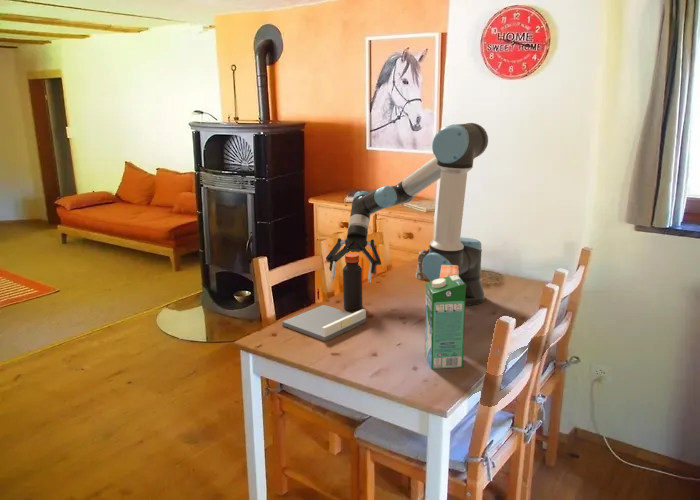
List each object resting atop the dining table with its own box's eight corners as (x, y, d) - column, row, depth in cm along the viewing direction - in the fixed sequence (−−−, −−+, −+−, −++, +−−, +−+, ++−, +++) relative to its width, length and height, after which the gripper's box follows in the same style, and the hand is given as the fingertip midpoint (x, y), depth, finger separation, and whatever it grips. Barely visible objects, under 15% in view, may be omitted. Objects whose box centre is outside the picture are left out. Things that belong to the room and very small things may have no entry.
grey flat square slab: (366, 322, 193) (366, 309, 191) (326, 341, 178) (325, 328, 177) (323, 308, 206) (323, 296, 205) (282, 325, 192) (281, 313, 190)
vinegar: (340, 307, 206) (338, 254, 201) (354, 303, 210) (353, 251, 205) (351, 313, 201) (350, 258, 196) (366, 308, 205) (365, 255, 200)
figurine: (413, 275, 240) (413, 248, 237) (428, 273, 242) (429, 246, 239) (419, 280, 234) (419, 252, 231) (435, 278, 235) (435, 251, 232)
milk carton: (424, 355, 168) (425, 274, 161) (454, 353, 169) (457, 273, 162) (431, 369, 159) (432, 285, 153) (463, 367, 160) (465, 283, 153)
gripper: (392, 235, 214) (386, 286, 204) (328, 233, 220) (319, 282, 210) (389, 225, 208) (383, 277, 198) (324, 223, 213) (314, 273, 203)
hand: (350, 280), depth 204 cm, fingers open, 13 cm apart
